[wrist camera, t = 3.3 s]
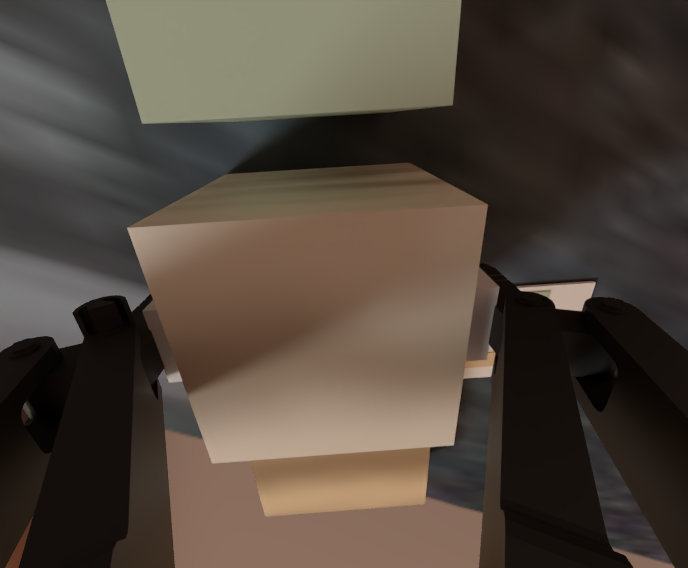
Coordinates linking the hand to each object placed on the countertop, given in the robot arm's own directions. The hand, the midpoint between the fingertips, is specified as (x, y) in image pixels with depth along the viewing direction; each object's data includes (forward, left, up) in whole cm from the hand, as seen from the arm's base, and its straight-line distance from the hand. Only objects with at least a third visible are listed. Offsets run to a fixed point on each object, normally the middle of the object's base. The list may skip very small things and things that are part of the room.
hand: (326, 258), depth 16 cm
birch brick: (0, 0, 0) cm, 0 cm away
